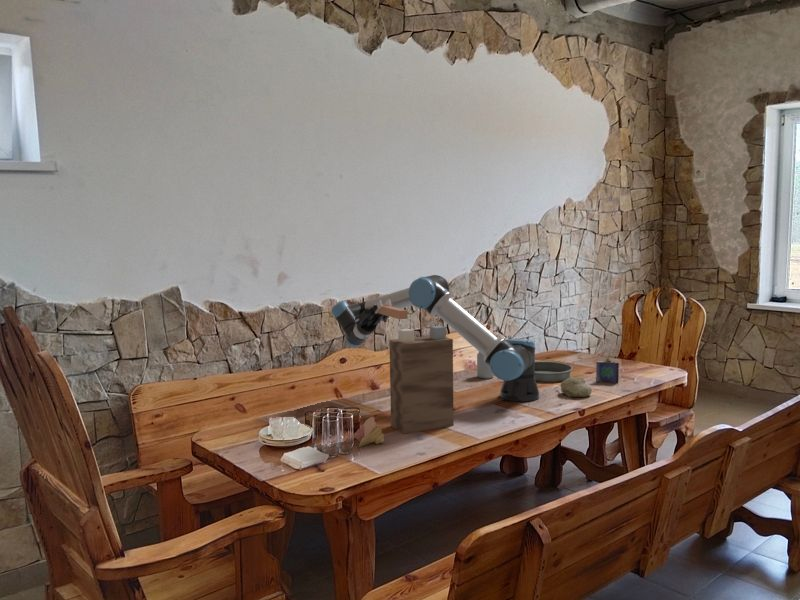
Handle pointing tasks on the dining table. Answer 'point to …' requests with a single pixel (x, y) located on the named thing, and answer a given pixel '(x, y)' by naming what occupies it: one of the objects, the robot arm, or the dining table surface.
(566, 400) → the dining table surface
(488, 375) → the can
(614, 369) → the dark small block
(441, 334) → the slate cube
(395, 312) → the terracotta stick
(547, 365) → the cake pan
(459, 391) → the dining table surface
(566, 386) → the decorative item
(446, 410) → the walnut stand
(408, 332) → the cream cube
